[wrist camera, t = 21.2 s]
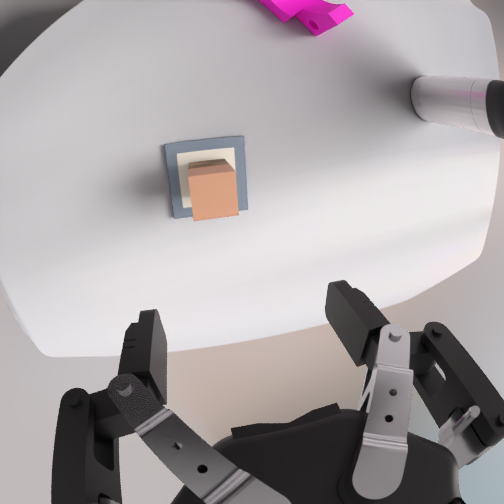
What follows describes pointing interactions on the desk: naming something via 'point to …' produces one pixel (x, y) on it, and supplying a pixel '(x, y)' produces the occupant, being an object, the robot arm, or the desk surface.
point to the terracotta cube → (213, 192)
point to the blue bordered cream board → (202, 151)
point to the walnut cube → (207, 163)
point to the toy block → (310, 13)
